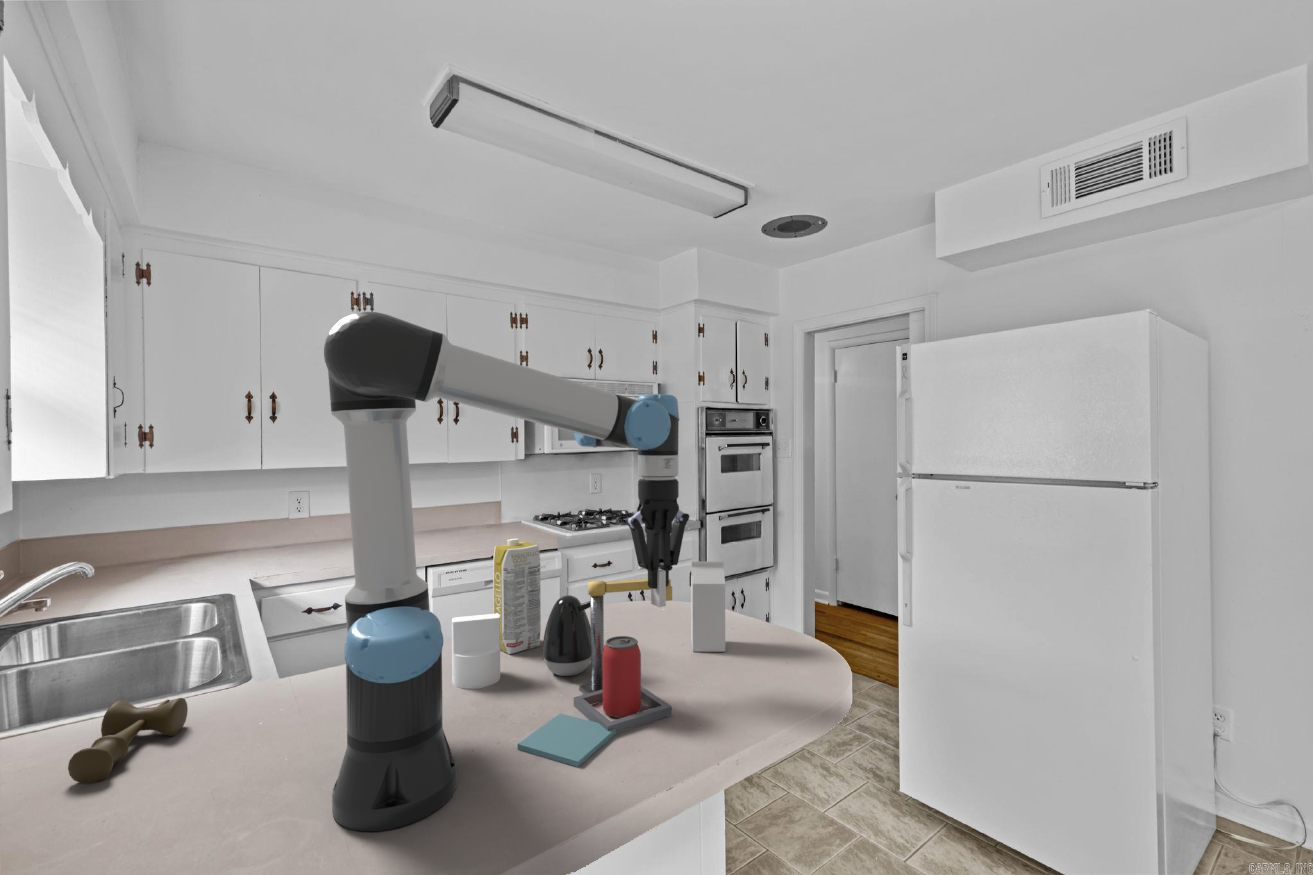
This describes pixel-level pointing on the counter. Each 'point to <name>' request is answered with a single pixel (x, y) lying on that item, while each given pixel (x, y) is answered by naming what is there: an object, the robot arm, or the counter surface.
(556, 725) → the mat
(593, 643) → the post
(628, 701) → the beer can
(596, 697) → the collar
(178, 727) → the kendama
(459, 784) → the counter surface
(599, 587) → the clip arm
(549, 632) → the pump dispenser
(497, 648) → the base with upright slab
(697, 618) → the milk carton
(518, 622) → the juice carton
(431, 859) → the counter surface
